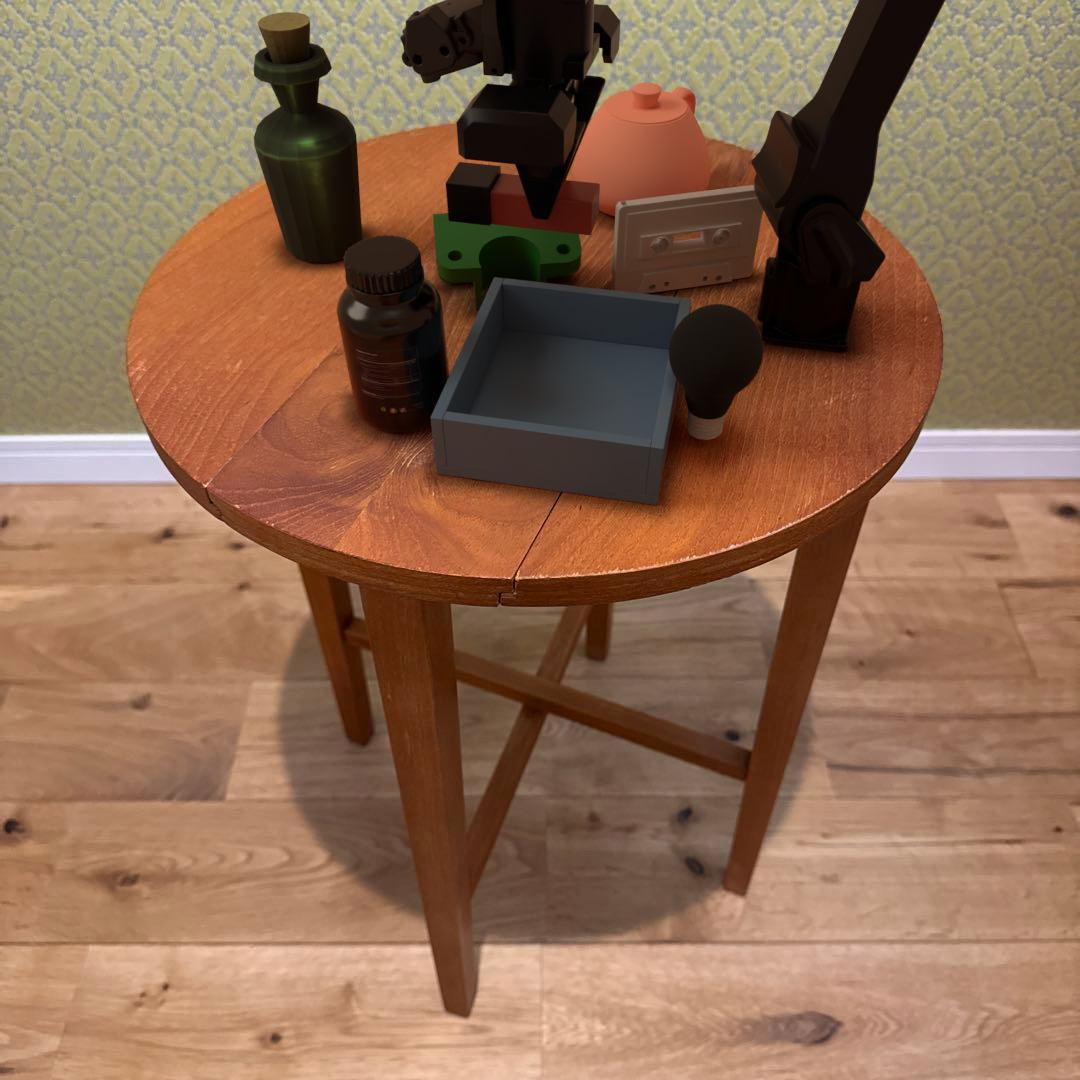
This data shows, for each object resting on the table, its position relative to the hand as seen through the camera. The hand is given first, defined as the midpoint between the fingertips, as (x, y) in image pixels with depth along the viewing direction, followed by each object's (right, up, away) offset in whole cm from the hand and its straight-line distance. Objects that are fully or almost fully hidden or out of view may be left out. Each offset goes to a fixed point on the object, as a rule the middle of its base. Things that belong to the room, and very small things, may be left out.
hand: (546, 206), depth 66 cm
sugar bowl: (+9, +9, +24) cm, 27 cm away
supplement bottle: (-10, -13, +3) cm, 17 cm away
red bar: (-2, 0, +1) cm, 2 cm away
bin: (+2, -14, +2) cm, 14 cm away
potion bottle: (-19, +3, +18) cm, 26 cm away
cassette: (+11, -2, +13) cm, 18 cm away
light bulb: (+11, -16, 0) cm, 19 cm away
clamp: (-3, -3, +13) cm, 13 cm away
